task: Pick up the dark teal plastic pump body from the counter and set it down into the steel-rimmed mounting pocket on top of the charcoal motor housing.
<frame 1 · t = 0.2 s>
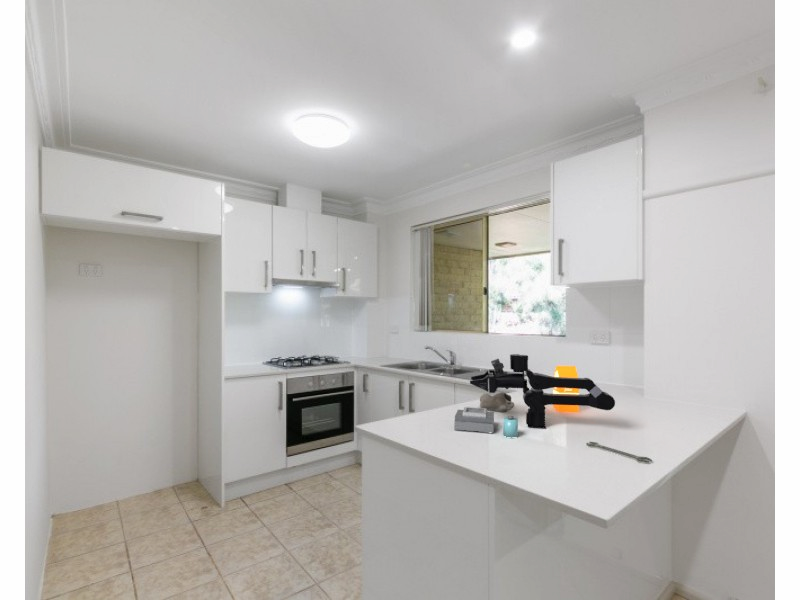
hand: (470, 380, 166), 16 cm above the counter, tool horizontal, fingers open, 9 cm apart
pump: (510, 436, 147), on the counter
pipe: (496, 410, 185), on the counter
orange juice: (565, 410, 186), on the counter
motor: (474, 427, 156), on the counter
wrench: (617, 455, 130), on the counter
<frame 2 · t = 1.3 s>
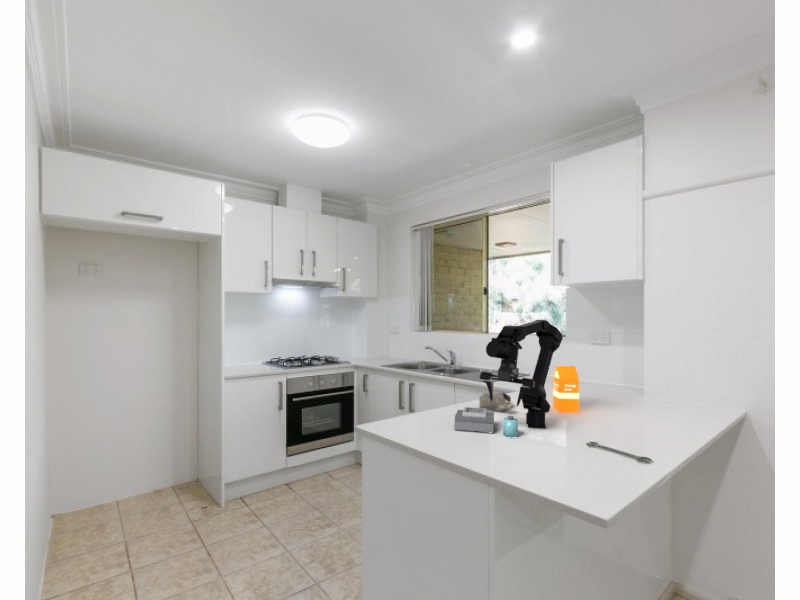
hand: (504, 403, 148), 11 cm above the counter, tool pointing down, fingers open, 9 cm apart
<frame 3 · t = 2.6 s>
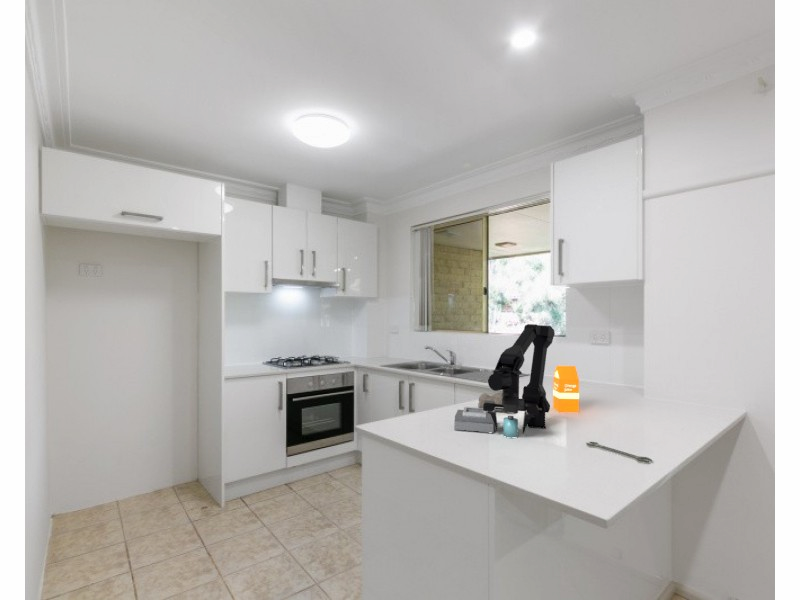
hand: (509, 431, 146), 2 cm above the counter, tool pointing down, fingers open, 9 cm apart
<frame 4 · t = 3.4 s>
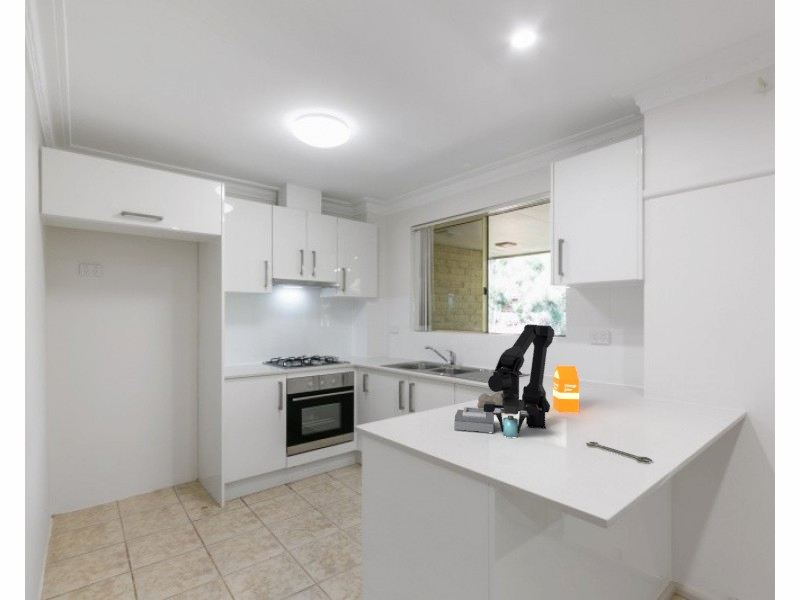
hand: (510, 432, 147), 1 cm above the counter, tool pointing down, fingers closed on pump, 5 cm apart
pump: (510, 436, 147), on the counter, touching gripper
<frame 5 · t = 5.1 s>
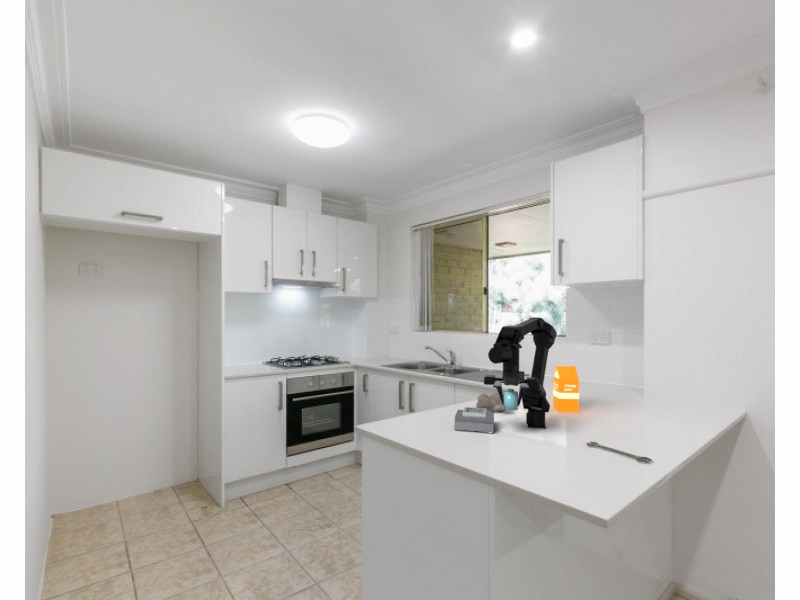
hand: (510, 405, 147), 11 cm above the counter, tool pointing down, fingers closed on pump, 5 cm apart
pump: (510, 408, 147), point 10 cm above the counter, touching gripper
when the fingers open (7 cm above the counter, at t = 7.1 s): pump drops 1 cm, resting on motor.
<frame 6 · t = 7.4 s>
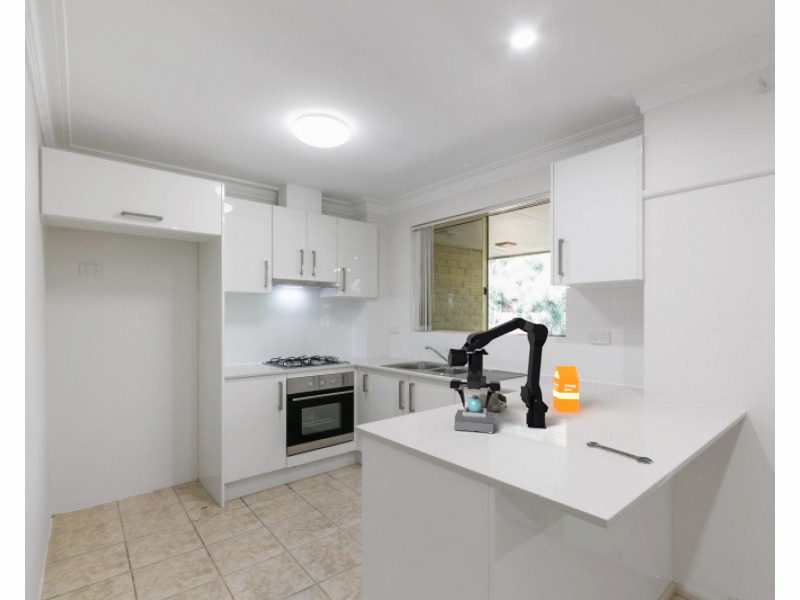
hand: (475, 407, 157), 7 cm above the counter, tool pointing down, fingers open, 8 cm apart
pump: (474, 414, 157), point 5 cm above the counter, touching motor
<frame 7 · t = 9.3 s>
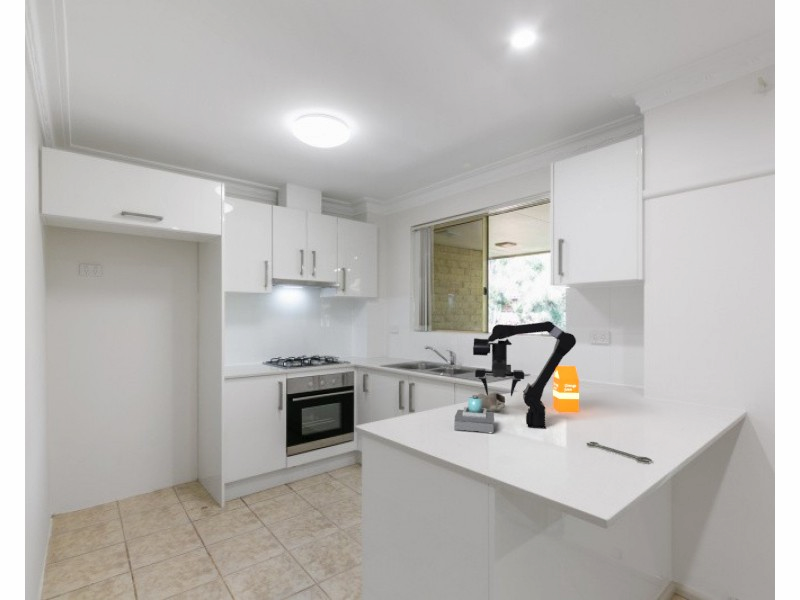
hand: (499, 395, 163), 11 cm above the counter, tool pointing down, fingers open, 9 cm apart
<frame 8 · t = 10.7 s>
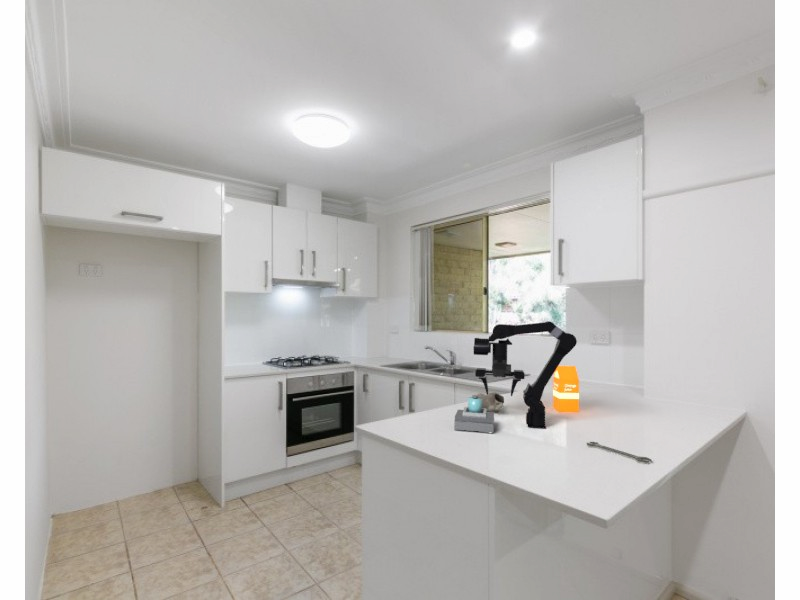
hand: (499, 395, 163), 11 cm above the counter, tool pointing down, fingers open, 9 cm apart
at the end: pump 0.0 cm off-centre on the motor, point 5.0 cm above the motor's base; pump tilted 0°; the gripper is holding nothing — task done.
